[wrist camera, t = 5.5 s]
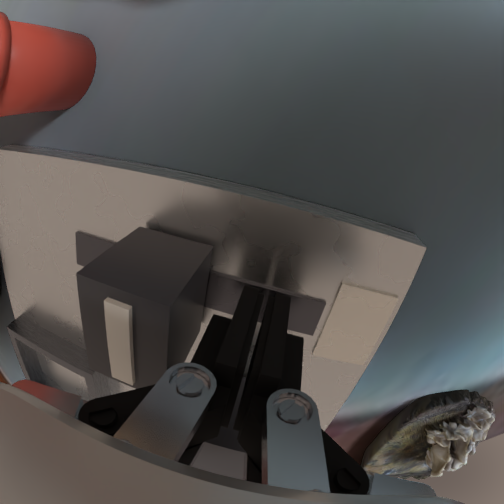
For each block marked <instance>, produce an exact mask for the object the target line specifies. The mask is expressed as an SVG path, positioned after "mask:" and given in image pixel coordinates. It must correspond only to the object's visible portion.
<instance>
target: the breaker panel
mask: <svg viewBox="0 0 504 504" xmlns="http://www.w3.org/2000/svg"><path fill="white" fill-rule="evenodd" d="M138 227H144V228H148V229H151V230H155V231H159V232H162V233H166V234H170V235H173V236H177V237H181V238H185V239H188V240H192V241H196V242H199V243H203V244H207V245H211V246H214V248H213V253H212V259H211V265H210V271H209V277H208V283H207V289H206V296H205V302H204V308H203V315H202V321H201V328H200V332H199V334H198V336H197V338H196V340H195V342H194V344H193V346H192V348H191V350H190V352H189V354H188V356H187V358H186V360H185V362H188V363H190V362H191V360H192V358H193V356H194V354H195V352H196V349H197V347H198V345H199V343H200V341H201V339H202V337H203V335H204V333H205V331H206V328H207V326H208V324H209V322H210V320H211V318H212V316H213V315H214V314H216V315H219V316H223V317H226V318H230V319H232V317H233V314H234V312H235V309H236V307H237V304H238V301H239V299H240V296H241V293H242V291H243V288H244V286H245V285H247V286H251V287H254V288H258V289H259V293H261V294H264V298H263V302H262V306H261V310H260V314H259V318H258V322H257V325H256V329H255V333H254V337H253V341H252V345H251V348H250V352H249V356H248V360H247V363H246V367H245V371H244V374H243V377H247V373H248V369H249V365H250V361H251V358H252V354H253V350H254V347H255V343H256V340H257V336H258V333H259V330H260V326H261V323H262V319H263V316H264V312H265V308H266V305H267V301H268V298H269V296H273V297H275V295H276V293H278V294H281V295H285V296H289V297H291V303H290V312H289V321H288V329H287V333H288V334H292V335H296V336H300V337H303V338H304V346H303V364H302V380H301V392H304V393H306V394H307V395H308V396H310V397H311V398H312V399H313V401H314V402H315V403H316V405H317V408H318V413H319V419H320V425H321V428H322V429H323V430H324V431H325V429H326V428H327V427H328V425H329V424H330V423H331V421H332V420H333V418H334V417H335V415H336V414H337V413H338V411H339V410H340V408H341V407H342V405H343V404H344V402H345V401H346V399H347V398H348V396H349V395H350V393H351V392H352V390H353V389H354V387H355V385H356V384H357V382H358V381H359V379H360V377H361V376H362V374H363V373H364V371H365V369H366V368H367V366H368V364H369V363H370V361H371V359H372V358H373V356H374V354H375V352H376V351H377V349H378V347H379V345H380V344H381V342H382V340H383V338H384V336H385V335H386V333H387V331H388V329H389V327H390V325H391V323H392V322H393V320H394V318H395V316H396V314H397V312H398V310H399V308H400V306H401V304H402V302H403V300H404V298H405V296H406V294H407V291H408V289H409V287H410V285H411V283H412V281H413V279H414V276H415V274H416V272H417V270H418V267H419V265H420V263H421V260H422V258H423V256H424V253H425V251H426V249H427V247H426V246H425V245H424V244H423V243H422V242H421V240H420V239H419V238H418V237H417V236H416V235H415V234H414V233H411V232H408V231H405V230H402V229H399V228H396V227H392V226H389V225H386V224H383V223H380V222H377V221H373V220H370V219H367V218H364V217H360V216H357V215H354V214H350V213H347V212H344V211H340V210H337V209H333V208H330V207H326V206H323V205H319V204H315V203H312V202H308V201H305V200H301V199H297V198H293V197H290V196H286V195H282V194H278V193H274V192H270V191H266V190H262V189H258V188H254V187H250V186H246V185H242V184H238V183H233V182H229V181H225V180H220V179H216V178H212V177H207V176H202V175H198V174H193V173H188V172H184V171H179V170H174V169H169V168H164V167H159V166H154V165H148V164H143V163H138V162H132V161H127V160H121V159H115V158H109V157H103V156H97V155H91V154H84V153H78V152H71V151H64V150H56V149H49V148H41V147H33V146H24V145H15V144H11V145H7V146H3V147H0V252H1V258H2V264H3V270H4V275H5V280H6V284H7V289H8V293H9V298H10V302H11V306H12V310H13V313H14V317H15V320H14V321H13V322H12V323H11V324H10V325H9V326H7V329H8V332H9V335H10V338H11V341H12V344H13V347H14V350H15V352H16V355H17V358H18V360H19V363H20V365H21V368H22V370H23V373H24V375H25V378H26V380H31V381H34V382H37V383H40V384H43V385H46V386H49V387H52V388H55V389H59V390H62V391H65V392H69V393H72V394H76V395H79V396H82V399H83V400H86V401H89V400H92V399H95V398H99V397H104V396H108V395H113V394H117V393H121V392H126V391H130V390H134V389H135V388H133V387H130V386H128V385H125V384H123V383H121V382H118V381H116V380H114V379H112V378H109V377H107V376H105V375H103V374H101V373H99V372H96V371H94V370H92V369H90V366H89V361H88V356H87V351H86V345H85V340H84V334H83V327H82V321H81V313H80V306H79V297H78V288H77V277H76V273H77V272H78V271H80V270H81V269H82V268H83V267H85V266H86V265H87V264H89V263H90V262H91V261H93V260H94V259H95V258H97V257H98V256H99V255H101V254H102V253H103V252H105V251H106V250H108V249H109V248H110V247H112V246H113V245H114V244H116V243H117V242H119V241H120V240H121V239H123V238H124V237H126V236H127V235H128V234H130V233H131V232H133V231H134V230H135V229H137V228H138ZM185 362H184V363H185Z"/></svg>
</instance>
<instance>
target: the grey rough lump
mask: <svg viewBox="0 0 504 504" xmlns="http://www.w3.org/2000/svg"><path fill="white" fill-rule="evenodd" d="M494 421H495V410H494V408H493V403H492V402H490V401H488V400H487V399H486V398H485V397H482V396H480V395H479V393H478V392H476V391H474V392H469V390H455V391H448V392H441V393H435V394H430V395H426V396H424V397H421V398H418V399H417V400H416V401H414V402H413V403H411V404H410V405H409V406H407V407H406V408H405V409H404V410H402V411H401V412H400V413H399V414H398V415H397V416H396V417H395V418H394V419H393V420H392V421H391V422H390V423H389V424H388V425H387V426H386V427H385V428H384V429H383V430H382V431H381V432H380V433H379V435H378V436H377V437H376V438H375V439H374V440H373V442H372V443H371V444H370V445H369V446H368V447H367V449H366V450H365V453H364V456H363V460H362V463H361V465H360V466H361V467H362V468H363V469H364V470H365V471H366V473H367V474H369V475H373V474H374V473H378V474H382V475H386V476H390V477H394V478H398V477H400V478H403V479H407V478H409V477H411V476H412V477H414V478H416V479H418V480H419V479H425V478H427V477H429V476H431V477H434V476H435V477H439V476H442V474H443V472H442V470H446V471H450V470H451V471H455V470H458V469H459V468H461V467H462V466H463V465H466V464H467V457H468V454H469V455H474V454H475V453H476V452H475V451H476V450H475V448H476V446H477V445H478V444H479V443H480V441H481V440H484V439H485V438H486V436H487V431H488V430H489V429H490V426H491V425H492V422H494Z"/></svg>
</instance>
